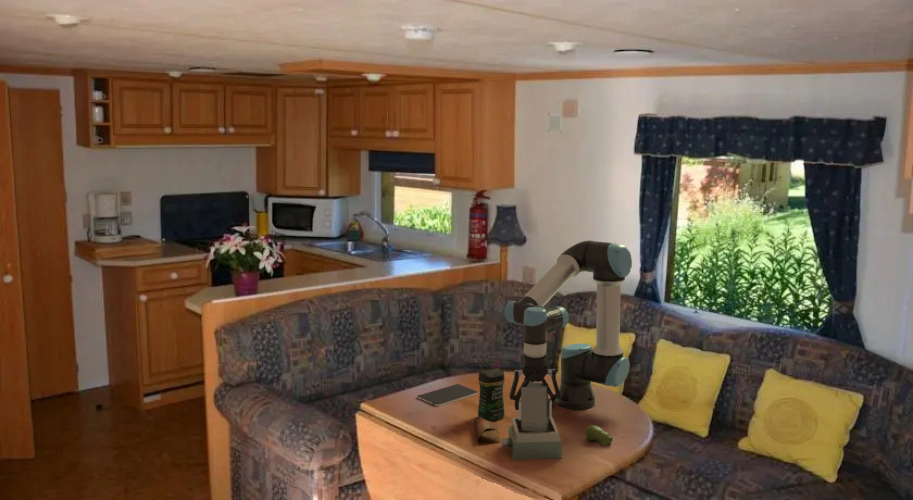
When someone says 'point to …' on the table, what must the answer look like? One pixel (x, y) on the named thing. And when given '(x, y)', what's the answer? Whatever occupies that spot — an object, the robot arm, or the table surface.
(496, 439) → the sunglasses case
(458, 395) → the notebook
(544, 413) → the skincare box
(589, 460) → the table surface
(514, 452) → the grey open rectangular box
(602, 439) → the pear
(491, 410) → the coffee jar
